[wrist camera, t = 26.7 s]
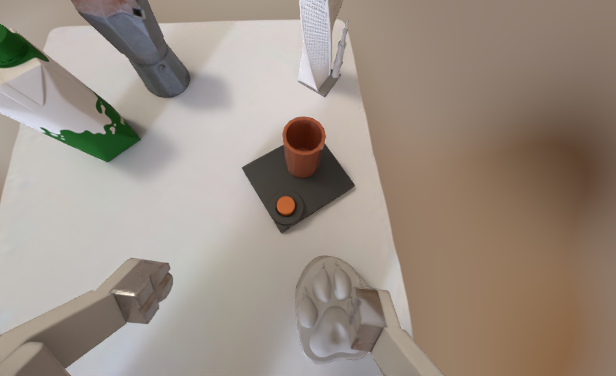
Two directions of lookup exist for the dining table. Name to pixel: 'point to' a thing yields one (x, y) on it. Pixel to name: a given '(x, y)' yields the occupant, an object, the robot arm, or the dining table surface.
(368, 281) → the dining table surface
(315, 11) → the skyscraper
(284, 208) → the button
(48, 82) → the milk carton
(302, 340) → the lumpy-topped squat cylinder
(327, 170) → the dark grey flat block
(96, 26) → the moka pot
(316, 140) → the cup
